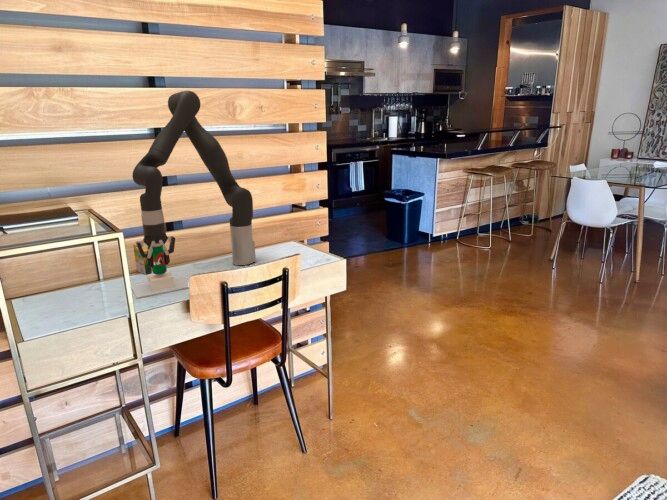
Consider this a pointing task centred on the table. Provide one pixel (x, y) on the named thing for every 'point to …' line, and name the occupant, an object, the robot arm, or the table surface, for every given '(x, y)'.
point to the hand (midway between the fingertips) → (159, 265)
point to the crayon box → (141, 262)
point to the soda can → (158, 259)
